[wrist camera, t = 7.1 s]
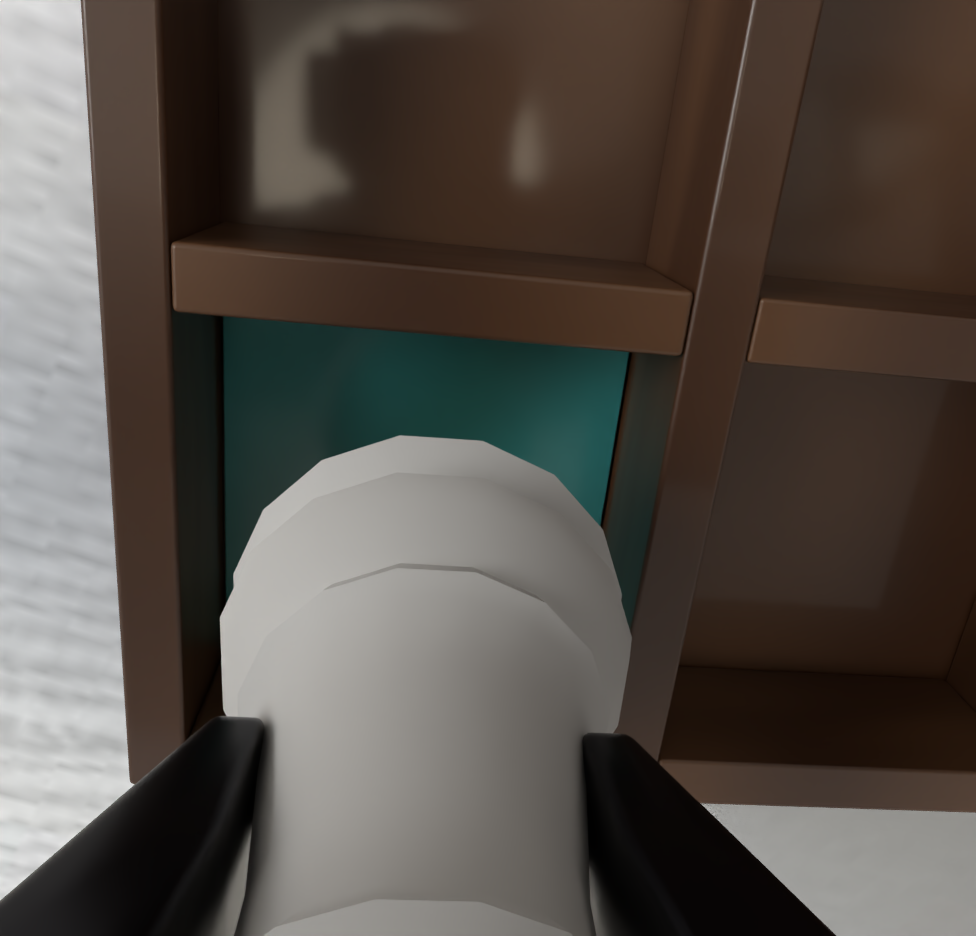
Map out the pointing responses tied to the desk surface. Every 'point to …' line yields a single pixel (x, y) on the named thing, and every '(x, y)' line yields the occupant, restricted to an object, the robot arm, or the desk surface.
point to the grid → (571, 337)
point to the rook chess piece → (423, 694)
